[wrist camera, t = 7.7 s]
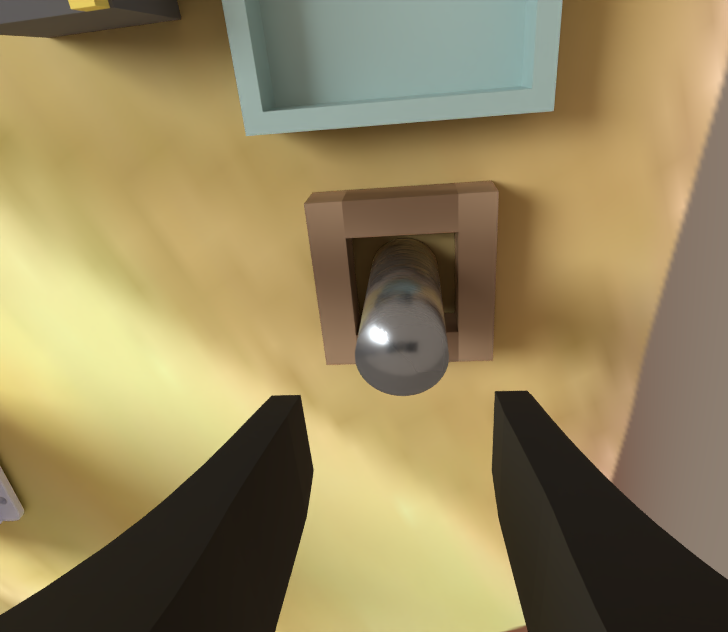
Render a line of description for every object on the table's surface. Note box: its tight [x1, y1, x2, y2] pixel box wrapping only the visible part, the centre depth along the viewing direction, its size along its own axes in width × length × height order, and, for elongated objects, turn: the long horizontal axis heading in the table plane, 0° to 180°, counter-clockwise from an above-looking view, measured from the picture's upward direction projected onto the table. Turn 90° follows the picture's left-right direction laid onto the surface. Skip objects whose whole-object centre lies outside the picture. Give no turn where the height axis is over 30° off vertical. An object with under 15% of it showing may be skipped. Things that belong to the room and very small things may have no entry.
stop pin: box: [355, 238, 449, 396], centre depth 15 cm, size 2×2×6 cm
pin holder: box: [304, 181, 499, 365], centre depth 17 cm, size 6×6×2 cm
